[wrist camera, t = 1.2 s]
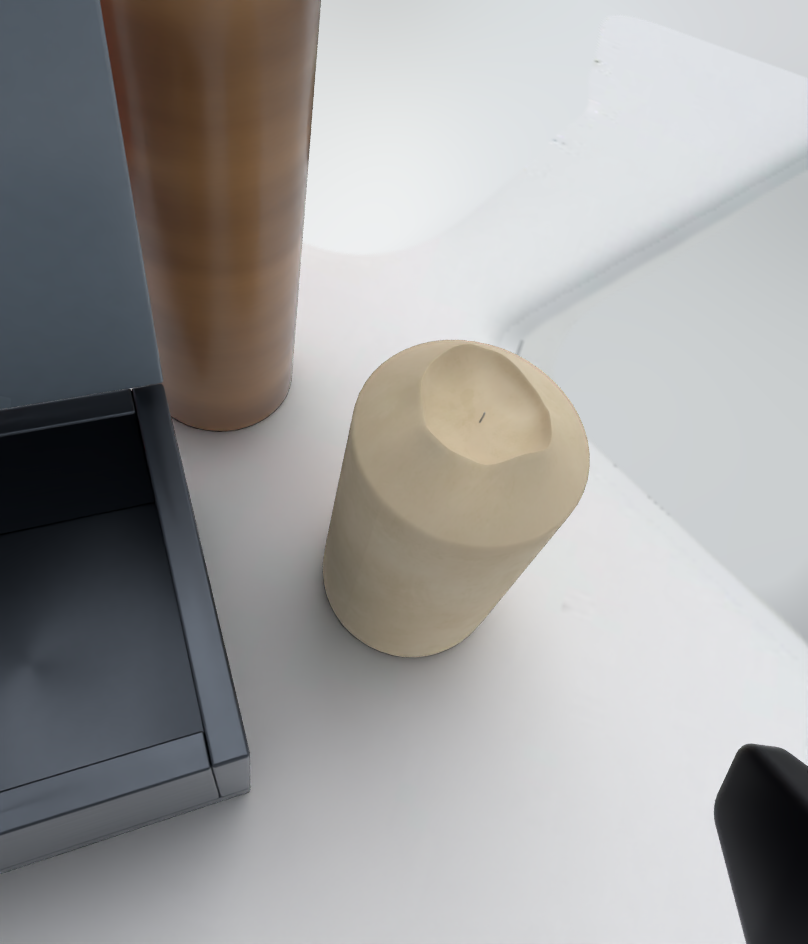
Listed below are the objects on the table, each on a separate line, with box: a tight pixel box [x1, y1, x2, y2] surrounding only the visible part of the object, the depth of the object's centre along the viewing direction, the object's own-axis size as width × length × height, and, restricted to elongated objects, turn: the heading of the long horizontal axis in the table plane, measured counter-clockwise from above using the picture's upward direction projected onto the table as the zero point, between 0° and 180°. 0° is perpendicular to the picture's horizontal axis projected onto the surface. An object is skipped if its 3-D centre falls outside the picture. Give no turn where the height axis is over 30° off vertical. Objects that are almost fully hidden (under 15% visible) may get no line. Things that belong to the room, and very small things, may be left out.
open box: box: [0, 384, 250, 874], centre depth 19 cm, size 10×10×6 cm
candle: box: [323, 340, 589, 657], centre depth 20 cm, size 6×6×10 cm
